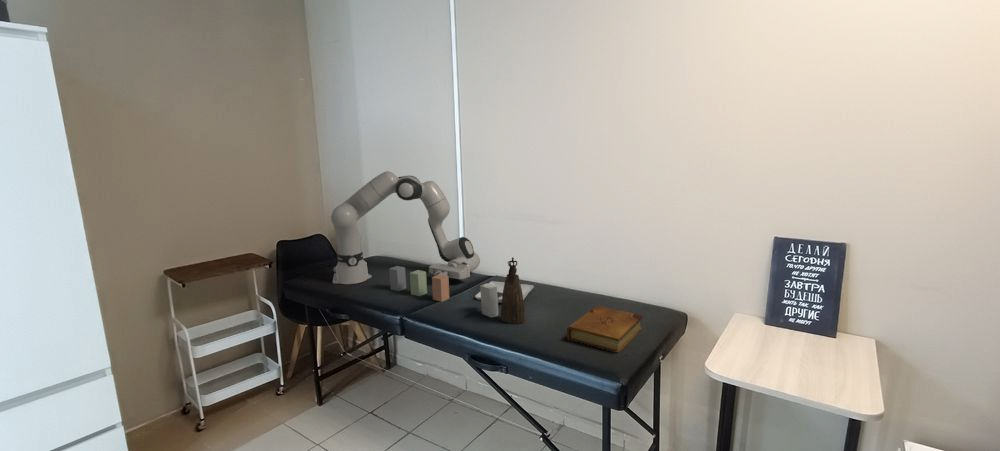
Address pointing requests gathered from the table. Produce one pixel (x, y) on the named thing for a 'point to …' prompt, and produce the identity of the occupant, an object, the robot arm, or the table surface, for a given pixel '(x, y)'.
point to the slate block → (397, 278)
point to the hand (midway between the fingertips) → (437, 275)
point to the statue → (512, 298)
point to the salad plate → (500, 287)
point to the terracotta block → (440, 287)
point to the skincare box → (489, 300)
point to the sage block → (418, 283)
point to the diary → (605, 328)
